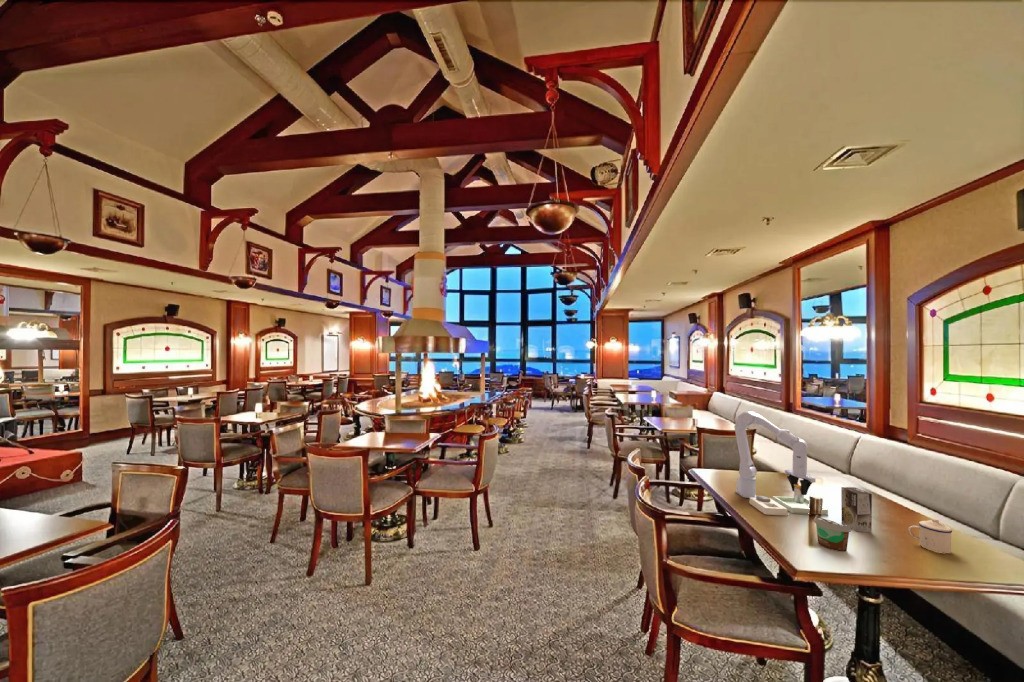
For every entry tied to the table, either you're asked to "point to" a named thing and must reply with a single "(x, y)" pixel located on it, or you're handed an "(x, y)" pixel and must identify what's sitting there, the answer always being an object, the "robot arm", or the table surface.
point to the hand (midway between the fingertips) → (799, 492)
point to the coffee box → (856, 509)
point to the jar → (798, 494)
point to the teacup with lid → (934, 535)
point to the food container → (832, 534)
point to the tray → (796, 505)
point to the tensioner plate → (768, 506)
